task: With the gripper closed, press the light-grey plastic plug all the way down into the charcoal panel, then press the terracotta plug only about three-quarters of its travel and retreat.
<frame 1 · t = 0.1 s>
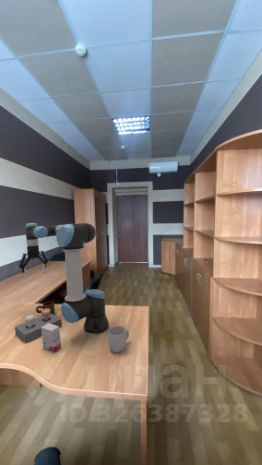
hand: (34, 274, 152), 28 cm above the table, fingers open, 13 cm apart
panel: (39, 330, 130), on the table
mug: (45, 317, 147), on the table
mug 2: (120, 347, 112), on the table
terracotta plug: (46, 316, 134), point 7 cm above the table, slide at 0.0 cm
ink box: (51, 348, 113), on the table
grey plug: (30, 322, 126), point 7 cm above the table, slide at 0.0 cm
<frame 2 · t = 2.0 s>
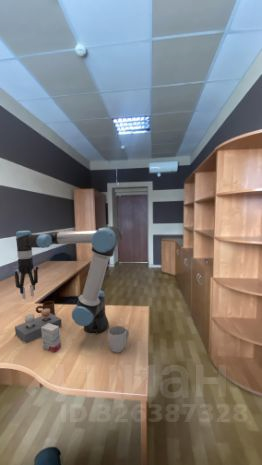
hand: (28, 297, 125), 23 cm above the table, fingers open, 4 cm apart
nothing on the table moved.
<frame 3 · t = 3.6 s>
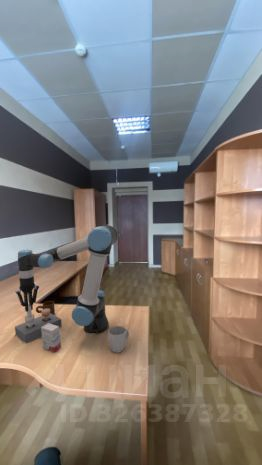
hand: (29, 315, 126), 11 cm above the table, fingers closed
grey plug: (30, 322, 126), point 7 cm above the table, slide at 0.0 cm, touching gripper
everything else where it was.
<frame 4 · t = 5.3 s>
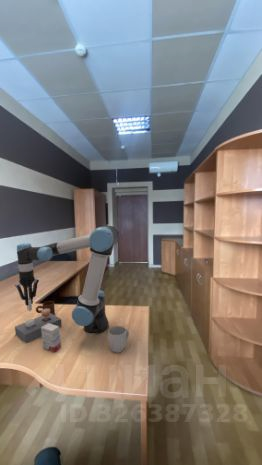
hand: (29, 309, 125), 15 cm above the table, fingers closed
grey plug: (30, 327, 126), point 4 cm above the table, slide at 3.0 cm
everything else where it was.
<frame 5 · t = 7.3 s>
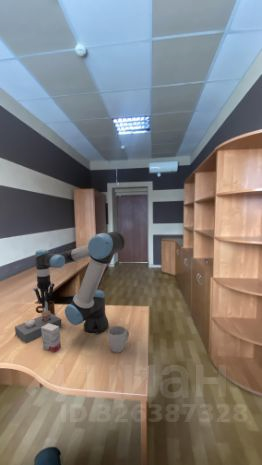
hand: (45, 311, 133), 10 cm above the table, fingers closed
terracotta plug: (46, 318, 134), point 6 cm above the table, slide at 1.4 cm, touching gripper
everything else where it was.
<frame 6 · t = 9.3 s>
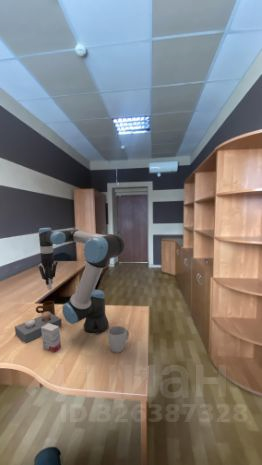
hand: (49, 289, 136), 23 cm above the table, fingers closed
terracotta plug: (46, 319, 134), point 5 cm above the table, slide at 2.0 cm
everything else where it was.
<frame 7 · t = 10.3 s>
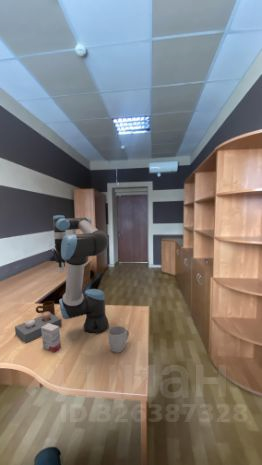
hand: (62, 271, 149), 30 cm above the table, fingers closed
nothing on the table moved.
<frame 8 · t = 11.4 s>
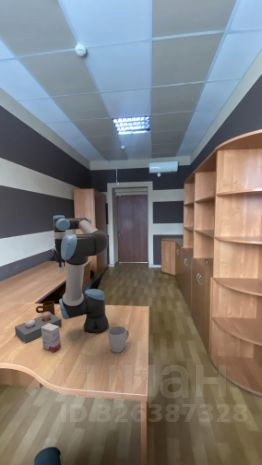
hand: (62, 271, 149), 30 cm above the table, fingers closed
nothing on the table moved.
at the end: grey plug slide at 3.0 cm; terracotta plug slide at 2.0 cm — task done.
